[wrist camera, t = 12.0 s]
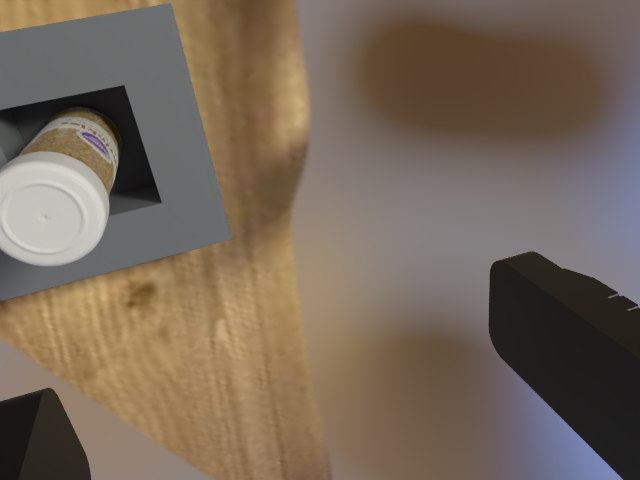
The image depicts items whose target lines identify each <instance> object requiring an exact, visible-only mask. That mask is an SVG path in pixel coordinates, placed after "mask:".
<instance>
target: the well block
mask: <svg viewBox="0 0 640 480" xmlns="http://www.w3.org/2000/svg"><path fill="white" fill-rule="evenodd" d="M75 106H82V107H88V108H93V109H95V110H98V111H99V112H101V113H104V114H105V115H107V117H109V118H110V119H111V120H112V121H113V123H114V124H115V125H116V128H117V129H118V131H119V133H120V136H121V139H122V151H121V157H120V159H119V160H118V167H117V172H116V176H115V180H114V184H113V186H112V188H111V191H110V195H109V216H108V220H107V224H106V227H105V230H104V233H103V235H102V237H101V239H100V241H99V242H98V244H97V245H96V246H95V248H94V249H93V250H92V251H91V252H89V253H88V254H87V255H85V256H84V257H82V258H81V259H79V260H77V261H74V262H72V263H69V264H65V265H60V266H36V265H31V264H28V263H24V262H21V261H19V260H17V259H15V258H13V257H11V256H9V255H7V254H6V253H5V252H3V251H2V250H1V249H0V300H1V301H3V300H7V299H11V298H15V297H18V296H22V295H26V294H30V293H33V292H37V291H41V290H44V289H48V288H52V287H56V286H59V285H63V284H67V283H71V282H74V281H78V280H82V279H85V278H89V277H93V276H97V275H100V274H104V273H108V272H112V271H115V270H119V269H123V268H127V267H130V266H134V265H138V264H141V263H145V262H149V261H153V260H156V259H160V258H164V257H168V256H171V255H175V254H179V253H182V252H186V251H190V250H194V249H197V248H201V247H205V246H209V245H212V244H216V243H220V242H224V241H227V240H231V239H232V236H231V232H230V229H229V225H228V221H227V217H226V213H225V209H224V206H223V202H222V198H221V194H220V190H219V186H218V182H217V179H216V175H215V171H214V167H213V163H212V159H211V155H210V152H209V148H208V144H207V140H206V136H205V132H204V129H203V125H202V121H201V117H200V113H199V109H198V105H197V102H196V98H195V94H194V90H193V86H192V82H191V79H190V75H189V71H188V67H187V63H186V59H185V55H184V52H183V48H182V44H181V40H180V36H179V32H178V29H177V25H176V21H175V17H174V13H173V9H172V5H171V3H170V4H164V5H158V6H152V7H147V8H141V9H135V10H129V11H123V12H117V13H112V14H106V15H100V16H94V17H88V18H82V19H77V20H71V21H65V22H59V23H53V24H47V25H42V26H36V27H30V28H24V29H18V30H12V31H6V32H1V33H0V169H1V168H2V167H3V166H4V165H5V164H7V163H8V162H9V161H11V160H13V159H14V158H16V157H18V156H19V154H20V153H21V152H22V150H23V149H24V148H25V147H26V146H27V145H28V144H29V143H30V142H31V141H32V139H33V138H34V137H35V136H36V135H37V134H38V133H39V132H40V131H41V130H42V129H43V128H44V127H45V126H46V125H47V123H48V121H49V119H50V118H51V117H53V116H54V115H55V114H56V113H57V112H59V111H61V110H63V109H65V108H69V107H75Z"/></svg>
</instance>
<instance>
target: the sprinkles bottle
mask: <svg viewBox="0 0 640 480" xmlns="http://www.w3.org/2000/svg"><path fill="white" fill-rule="evenodd" d="M121 151H122V139H121V136H120V133H119V131H118V129H117V128H116V125H115V124H114V123H113V121H112V120H111V119H110V118H109V117H107V115H105V114H104V113H101V112H99V111H98V110H95V109H93V108H88V107H82V106H75V107H69V108H65V109H63V110H61V111H59V112H57V113H56V114H55V115H54V116H53V117H51V118H50V119H49V121H48V123H47V125H46V126H45V127H44V128H43V129H42V130H41V131H40V132H39V133H38V134H37V135H36V136H35V137H34V138H33V139H32V141H31V142H30V143H29V144H28V145H27V146H26V147H25V148H24V149H23V150H22V152H21V153H20V154H19V156H18V157H16V158H14V159H13V160H11V161H9V162H8V163H7V164H5V165H4V166H3V167H2V168H1V169H0V249H1V250H2V251H3V252H5V253H6V254H7V255H9V256H11V257H13V258H15V259H17V260H19V261H21V262H24V263H28V264H31V265H36V266H60V265H65V264H69V263H72V262H74V261H77V260H79V259H81V258H82V257H84V256H85V255H87V254H88V253H89V252H91V251H92V250H93V249H94V248H95V246H96V245H97V244H98V242H99V241H100V239H101V237H102V235H103V233H104V230H105V227H106V224H107V220H108V216H109V195H110V191H111V188H112V186H113V184H114V180H115V176H116V172H117V167H118V160H119V159H120V157H121Z"/></svg>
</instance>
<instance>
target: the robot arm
mask: <svg viewBox="0 0 640 480" xmlns="http://www.w3.org/2000/svg"><path fill="white" fill-rule="evenodd" d="M489 294H490V295H489V333H490V337H491V340H492V343H493V345H494V347H495V349H496V351H497V353H498V354H499V356H500V357H501V358H502V359H503V360H504V361H505V362H506V363H507V364H508V365H509V366H510V367H511V368H512V369H513V370H514V371H515V372H516V373H517V374H518V375H519V376H520V377H521V378H522V379H523V380H524V381H525V382H526V383H527V384H528V385H529V386H530V387H531V388H532V389H533V390H534V391H535V392H536V393H537V394H538V395H539V396H540V397H541V398H542V399H543V400H544V401H545V402H546V403H547V404H548V405H549V406H550V407H551V408H552V409H553V410H554V411H555V412H556V413H557V414H558V415H559V416H560V417H561V418H562V419H563V420H564V421H565V422H566V423H567V424H568V425H569V426H570V427H571V428H572V429H573V430H574V431H575V432H576V433H577V434H578V435H579V436H580V437H581V438H582V439H583V440H584V441H585V442H586V443H587V444H588V445H589V446H590V447H591V448H592V449H593V450H594V451H595V452H596V453H597V454H598V455H599V456H600V457H601V458H602V459H603V460H604V461H605V462H606V463H607V464H608V465H609V466H610V467H611V468H612V469H613V470H614V471H615V472H616V473H617V474H618V475H619V476H620V477H621V478H622V479H623V480H640V308H639V307H638V304H636V303H634V302H633V301H631V300H629V299H628V298H626V297H624V296H619V295H618V292H616V291H614V290H613V289H611V288H609V287H608V286H606V285H605V284H603V283H601V282H600V281H598V280H596V279H595V278H592V277H589V276H586V275H583V274H580V273H577V272H574V271H571V270H567V269H562V268H560V267H559V266H557V265H556V264H554V263H553V262H551V261H550V260H548V259H546V258H545V257H543V256H541V255H540V254H538V253H536V252H527V253H523V254H520V255H516V256H513V257H509V258H506V259H503V260H499V261H496V262H494V263H493V265H492V266H491V270H490V293H489ZM0 480H91V474H90V468H89V463H88V460H87V456H86V454H85V451H84V450H83V447H82V445H81V443H80V441H79V439H78V437H77V435H76V433H75V431H74V429H73V426H72V424H71V422H70V420H69V418H68V416H67V414H66V412H65V410H64V408H63V405H62V403H61V401H60V400H59V397H58V395H57V394H56V393H55V391H54V390H53V389H51V388H46V389H42V390H39V391H36V392H32V393H28V394H25V395H22V396H18V397H14V398H11V399H8V400H4V401H0Z"/></svg>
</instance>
